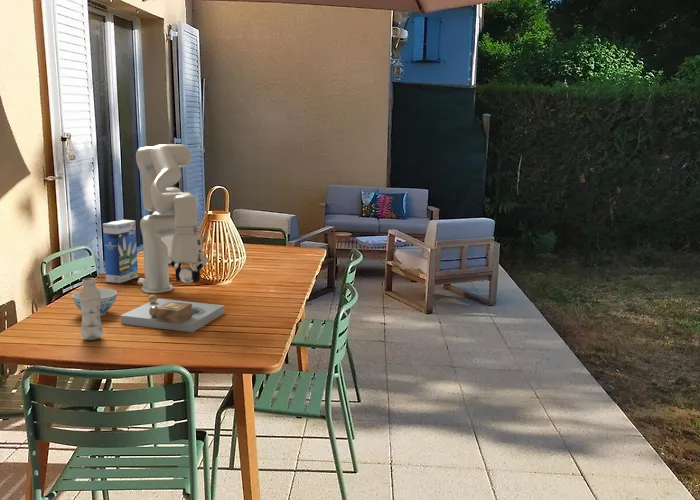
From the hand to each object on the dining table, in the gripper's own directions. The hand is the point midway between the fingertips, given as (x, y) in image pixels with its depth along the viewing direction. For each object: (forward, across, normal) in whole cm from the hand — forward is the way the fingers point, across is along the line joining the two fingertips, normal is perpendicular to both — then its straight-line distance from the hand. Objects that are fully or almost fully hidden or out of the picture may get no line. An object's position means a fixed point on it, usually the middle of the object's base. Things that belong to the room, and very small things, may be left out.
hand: (187, 280), depth 226 cm
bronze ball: (+10, +8, +9) cm, 15 cm away
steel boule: (-2, 0, 0) cm, 2 cm away
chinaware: (+15, +35, +5) cm, 38 cm away
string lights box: (+14, +57, -42) cm, 72 cm away
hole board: (+15, +6, 0) cm, 16 cm away
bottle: (+14, +59, -79) cm, 100 cm away
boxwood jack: (+10, +18, -6) cm, 21 cm away
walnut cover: (+11, 0, +9) cm, 15 cm away
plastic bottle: (+15, +19, +28) cm, 37 cm away
